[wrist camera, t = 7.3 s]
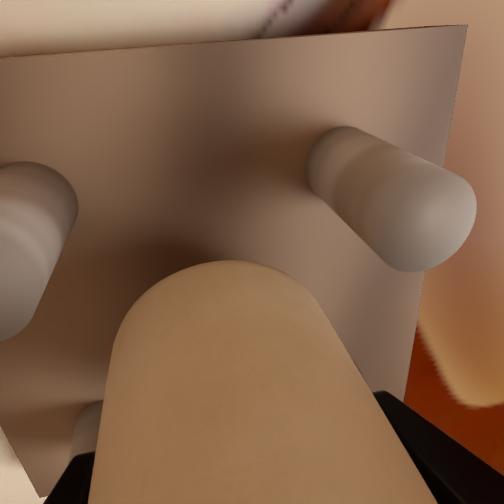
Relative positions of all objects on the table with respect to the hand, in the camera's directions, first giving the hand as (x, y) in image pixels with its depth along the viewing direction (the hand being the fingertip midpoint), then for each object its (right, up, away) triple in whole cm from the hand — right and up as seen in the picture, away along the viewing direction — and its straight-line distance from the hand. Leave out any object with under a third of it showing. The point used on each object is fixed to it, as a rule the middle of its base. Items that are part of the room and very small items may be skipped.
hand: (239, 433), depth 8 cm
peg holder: (-1, +3, +5) cm, 6 cm away
